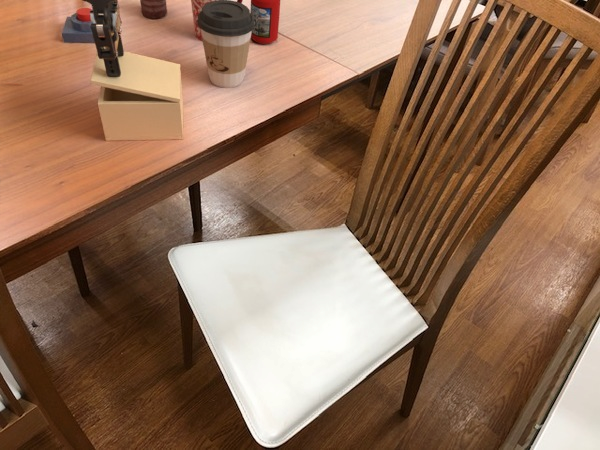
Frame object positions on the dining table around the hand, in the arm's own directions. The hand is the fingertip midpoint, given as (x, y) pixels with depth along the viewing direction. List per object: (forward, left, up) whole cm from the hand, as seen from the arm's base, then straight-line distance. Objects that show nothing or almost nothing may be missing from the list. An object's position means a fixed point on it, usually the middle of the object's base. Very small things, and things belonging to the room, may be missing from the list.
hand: (116, 65), depth 87 cm
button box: (-10, +34, -12) cm, 37 cm away
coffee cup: (+20, +15, -12) cm, 27 cm away
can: (+4, +45, -12) cm, 47 cm away
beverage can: (+30, +33, -12) cm, 46 cm away
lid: (+3, 0, -2) cm, 4 cm away
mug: (+19, +35, -12) cm, 41 cm away
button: (-10, +34, -8) cm, 36 cm away
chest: (+4, 0, -12) cm, 12 cm away
